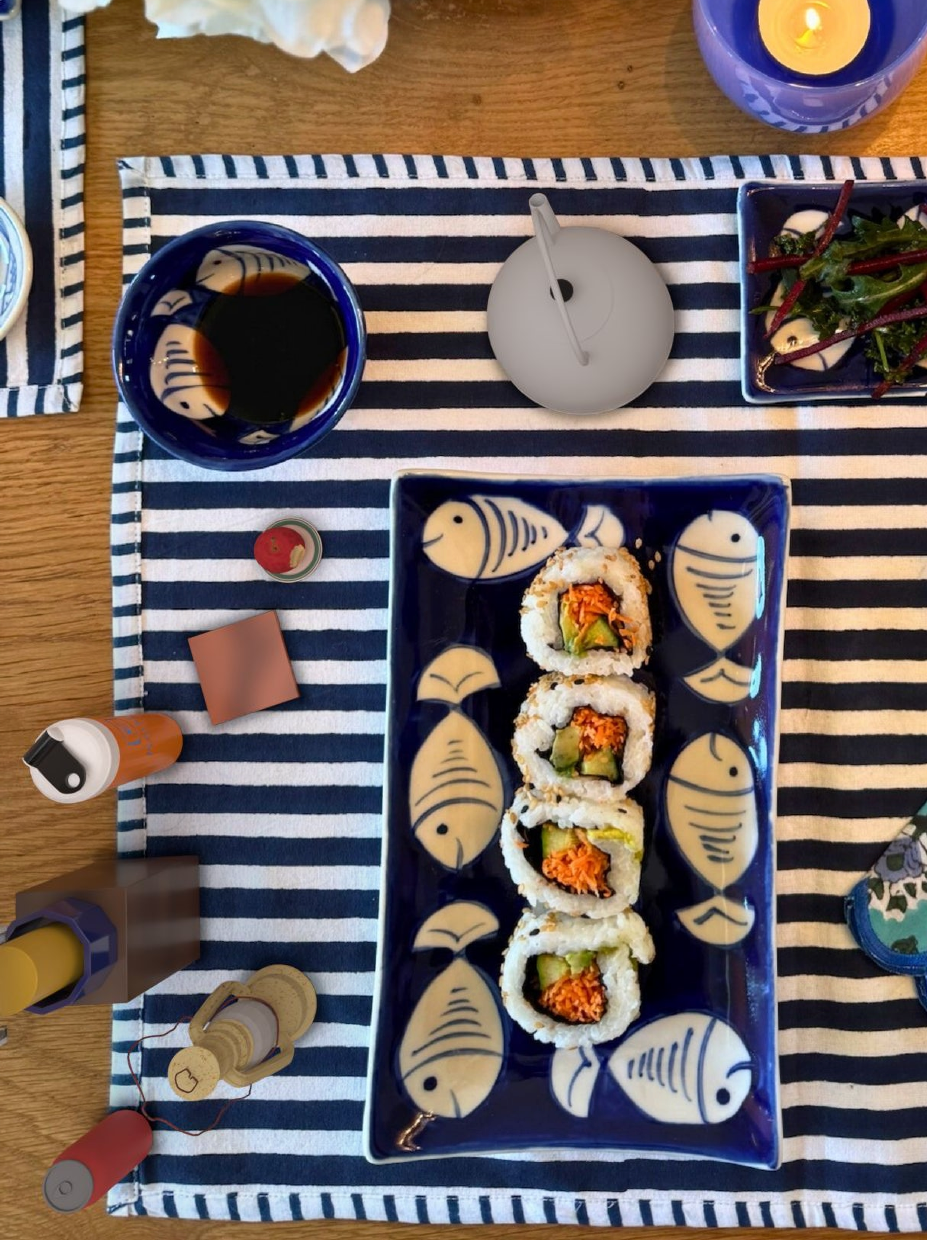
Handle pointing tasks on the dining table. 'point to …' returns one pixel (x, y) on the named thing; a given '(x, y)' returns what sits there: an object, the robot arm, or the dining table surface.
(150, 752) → the shaker bottle
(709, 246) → the dining table surface
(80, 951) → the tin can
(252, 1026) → the lantern
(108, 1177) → the beer can
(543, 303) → the kettle
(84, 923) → the blue faceted ring
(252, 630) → the coaster
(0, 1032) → the robot arm
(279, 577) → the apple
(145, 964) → the stand
